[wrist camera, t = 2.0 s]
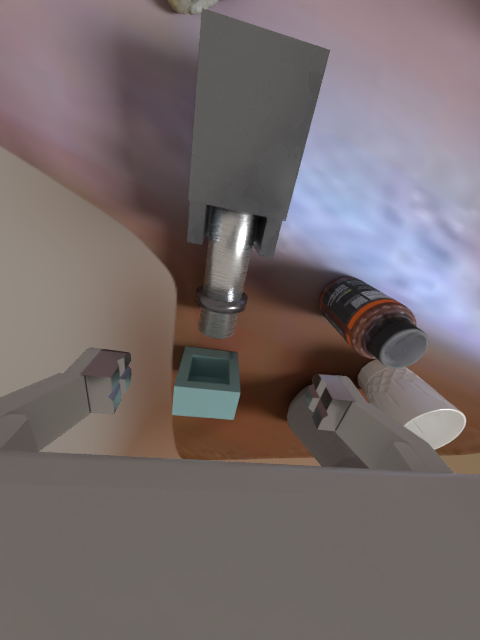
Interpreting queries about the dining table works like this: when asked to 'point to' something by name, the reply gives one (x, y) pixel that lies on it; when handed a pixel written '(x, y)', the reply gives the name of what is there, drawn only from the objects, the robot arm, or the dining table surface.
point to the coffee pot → (320, 437)
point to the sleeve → (250, 123)
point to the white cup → (411, 403)
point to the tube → (225, 271)
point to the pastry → (191, 5)
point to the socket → (207, 384)
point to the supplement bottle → (373, 323)
